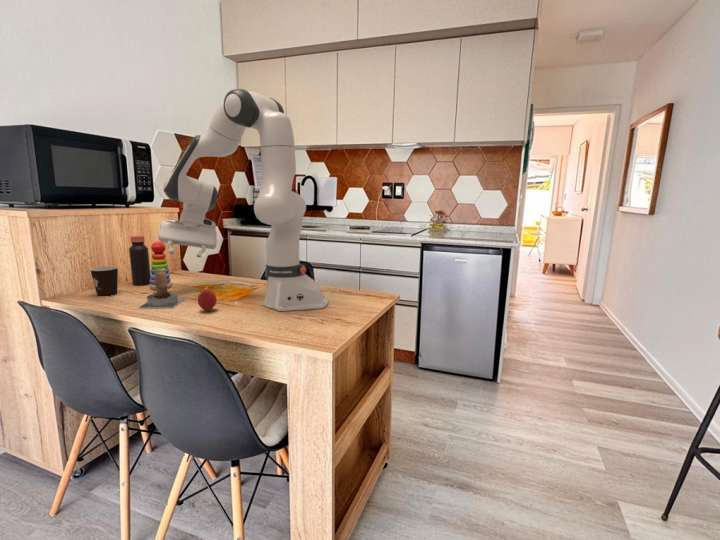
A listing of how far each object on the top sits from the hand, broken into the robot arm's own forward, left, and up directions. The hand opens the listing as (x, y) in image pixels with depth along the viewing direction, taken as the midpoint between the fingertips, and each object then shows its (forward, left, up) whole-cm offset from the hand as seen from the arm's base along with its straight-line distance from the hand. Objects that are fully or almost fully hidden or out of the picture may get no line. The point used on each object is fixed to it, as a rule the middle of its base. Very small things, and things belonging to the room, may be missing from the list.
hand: (185, 254), depth 145 cm
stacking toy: (+15, -12, -16) cm, 25 cm away
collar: (+5, +11, -15) cm, 19 cm away
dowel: (+5, +11, -15) cm, 19 cm away
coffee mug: (+31, -3, -16) cm, 35 cm away
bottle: (+25, -18, -16) cm, 35 cm away
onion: (-13, +20, -16) cm, 28 cm away
